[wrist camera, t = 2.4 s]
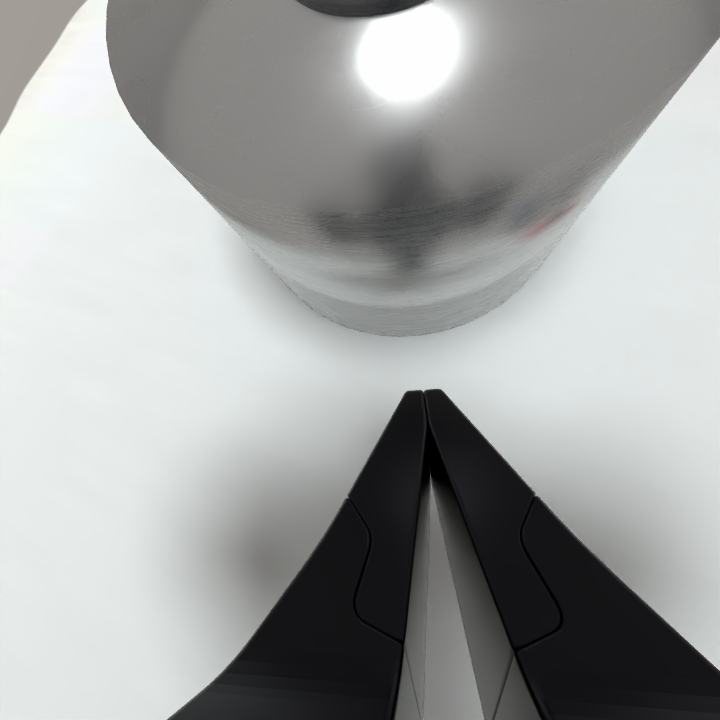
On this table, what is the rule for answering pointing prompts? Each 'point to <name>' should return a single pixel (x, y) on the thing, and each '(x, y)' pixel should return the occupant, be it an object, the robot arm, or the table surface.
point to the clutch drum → (402, 132)
